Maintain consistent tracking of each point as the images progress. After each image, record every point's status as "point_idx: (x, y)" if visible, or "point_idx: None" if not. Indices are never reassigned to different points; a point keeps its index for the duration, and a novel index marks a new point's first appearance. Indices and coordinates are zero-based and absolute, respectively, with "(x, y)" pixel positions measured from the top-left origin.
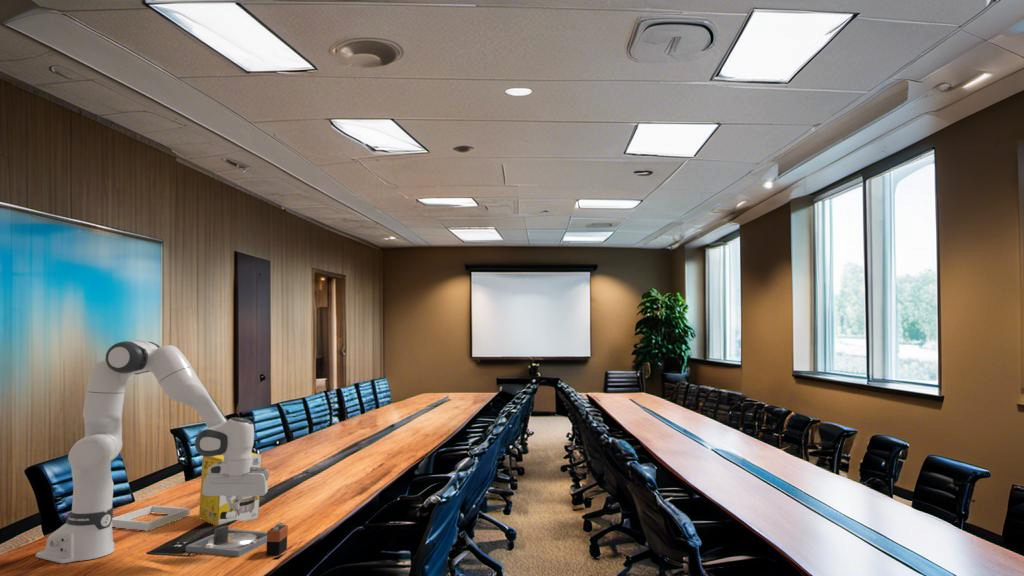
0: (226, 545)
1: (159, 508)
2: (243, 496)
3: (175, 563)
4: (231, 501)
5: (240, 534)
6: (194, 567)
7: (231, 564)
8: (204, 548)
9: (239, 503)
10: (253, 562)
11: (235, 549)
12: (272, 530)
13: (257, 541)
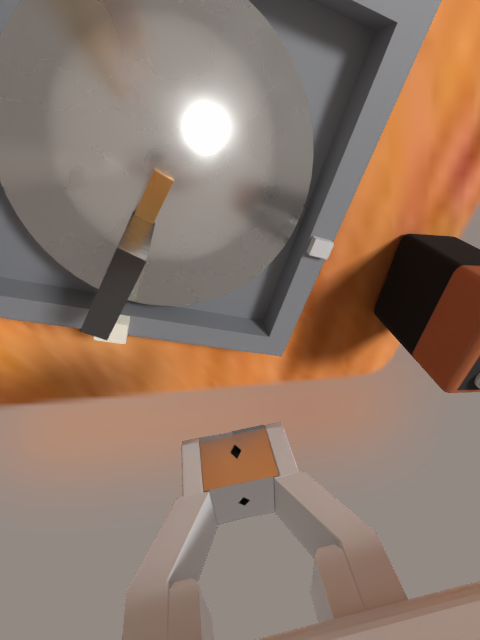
0: (187, 291)
1: None
2: (386, 560)
3: (29, 371)
4: (200, 523)
5: (165, 30)
6: (138, 394)
7: (258, 362)
8: None
9: (296, 465)
10: (331, 340)
11: (258, 339)
12: (471, 391)
13: (336, 219)
